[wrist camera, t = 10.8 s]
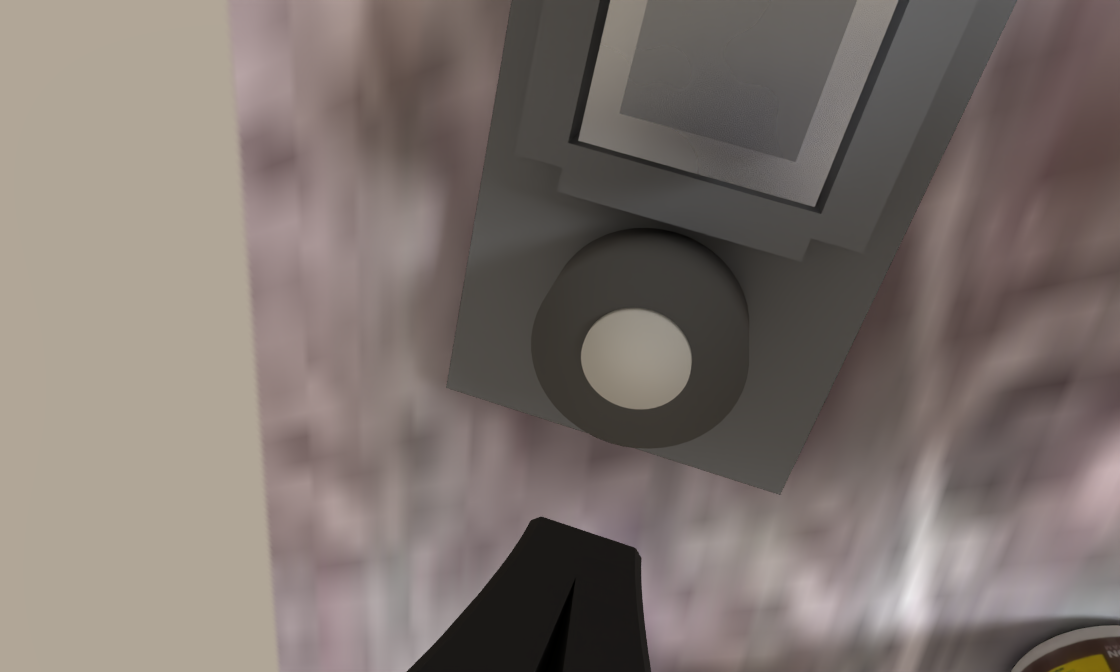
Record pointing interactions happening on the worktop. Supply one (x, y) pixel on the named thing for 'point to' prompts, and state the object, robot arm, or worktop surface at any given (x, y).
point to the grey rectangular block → (734, 86)
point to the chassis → (709, 219)
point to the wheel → (643, 339)
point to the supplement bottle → (1076, 652)
